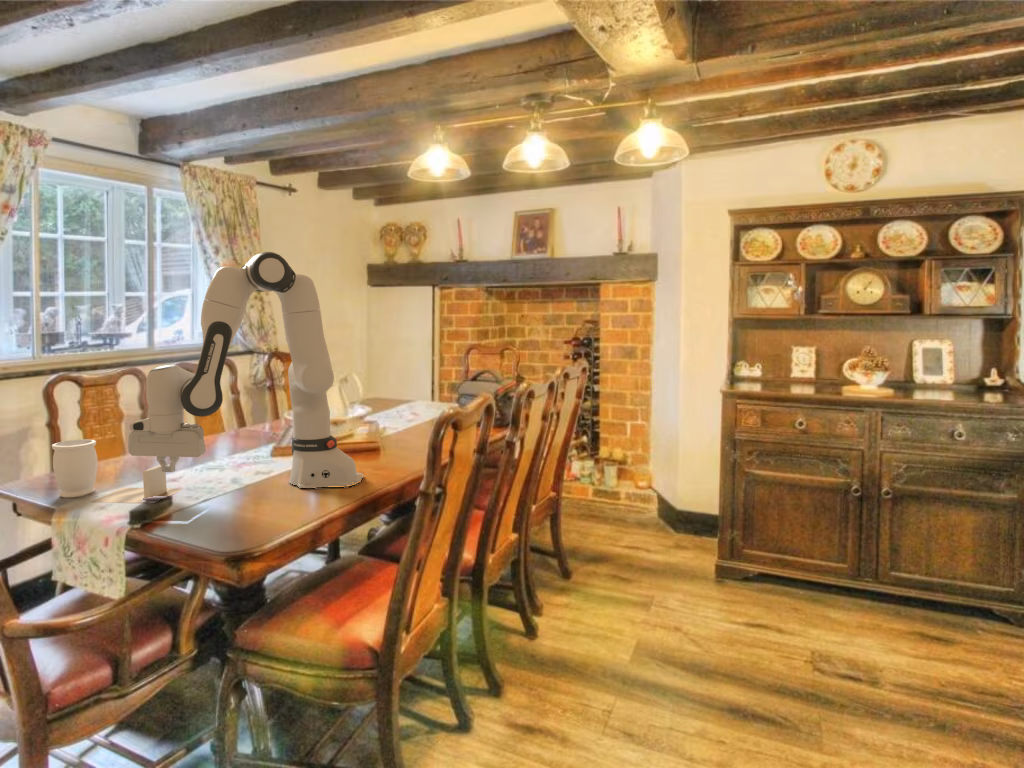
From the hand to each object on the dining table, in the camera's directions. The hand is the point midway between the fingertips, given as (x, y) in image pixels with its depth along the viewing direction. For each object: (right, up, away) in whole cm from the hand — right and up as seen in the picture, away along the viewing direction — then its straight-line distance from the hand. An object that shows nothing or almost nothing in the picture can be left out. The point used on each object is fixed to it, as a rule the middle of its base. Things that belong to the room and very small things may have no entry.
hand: (168, 471), depth 175 cm
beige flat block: (-4, -7, +1) cm, 8 cm away
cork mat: (-9, -7, +1) cm, 12 cm away
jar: (-28, -7, +4) cm, 29 cm away
